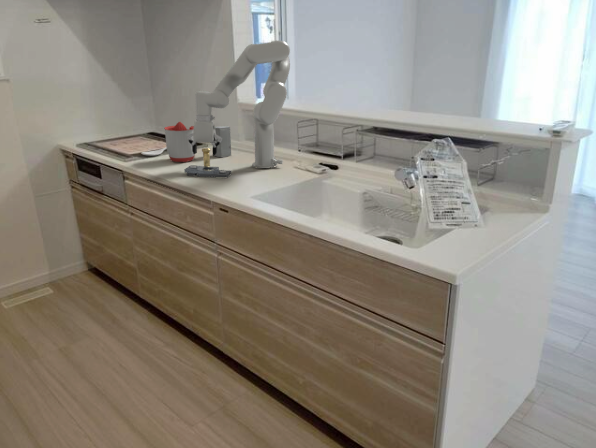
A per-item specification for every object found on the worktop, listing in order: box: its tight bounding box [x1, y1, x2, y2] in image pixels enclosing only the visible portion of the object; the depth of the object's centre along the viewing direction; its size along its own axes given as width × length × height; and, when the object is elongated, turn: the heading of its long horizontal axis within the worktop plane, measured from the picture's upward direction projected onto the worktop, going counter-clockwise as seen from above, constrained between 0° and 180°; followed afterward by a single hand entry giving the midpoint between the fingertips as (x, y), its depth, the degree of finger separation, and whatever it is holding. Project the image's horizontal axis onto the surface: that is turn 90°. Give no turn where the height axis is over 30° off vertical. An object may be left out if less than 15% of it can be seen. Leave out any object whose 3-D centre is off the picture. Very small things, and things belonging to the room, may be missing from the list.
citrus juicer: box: [164, 121, 196, 163], centre depth 253 cm, size 16×17×20 cm
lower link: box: [196, 169, 232, 178], centre depth 228 cm, size 14×8×2 cm, turn 81°
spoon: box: [140, 146, 167, 157], centre depth 272 cm, size 9×32×4 cm, turn 139°
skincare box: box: [214, 125, 232, 158], centre depth 265 cm, size 8×7×16 cm
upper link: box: [183, 164, 220, 177], centre depth 228 cm, size 14×8×4 cm, turn 81°
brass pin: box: [201, 147, 211, 167], centre depth 237 cm, size 4×4×10 cm
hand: (204, 154), depth 236 cm, fingers open, 9 cm apart
